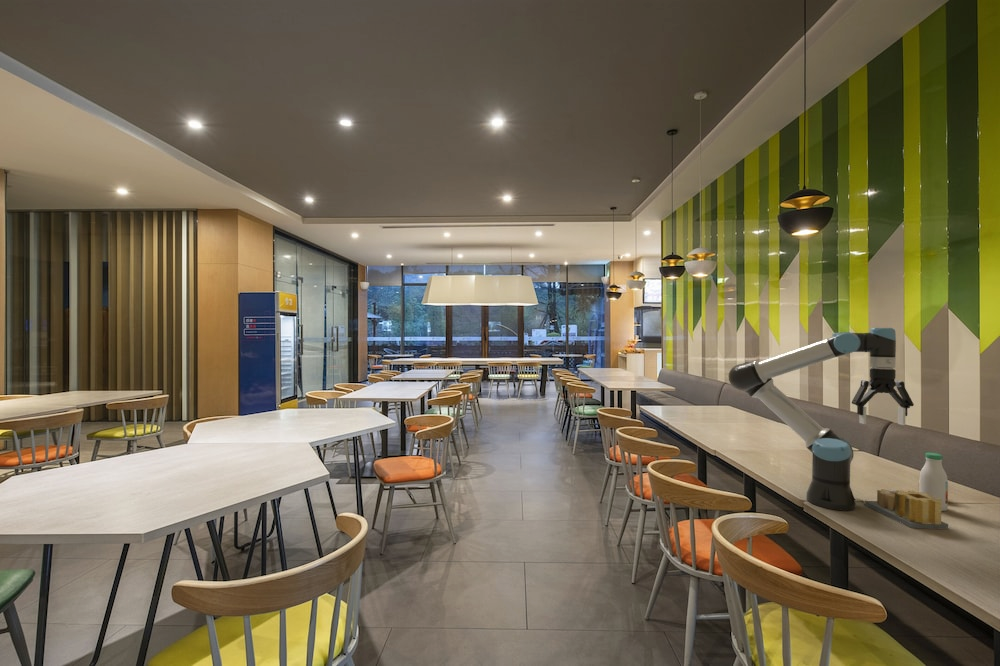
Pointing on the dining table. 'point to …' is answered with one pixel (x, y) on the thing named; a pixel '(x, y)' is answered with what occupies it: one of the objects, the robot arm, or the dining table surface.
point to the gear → (918, 507)
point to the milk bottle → (934, 479)
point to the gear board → (887, 507)
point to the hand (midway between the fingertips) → (882, 424)
